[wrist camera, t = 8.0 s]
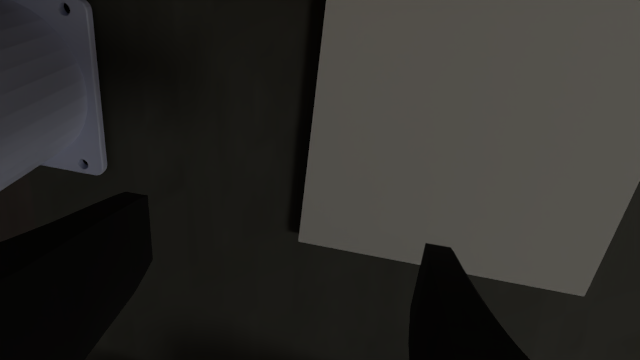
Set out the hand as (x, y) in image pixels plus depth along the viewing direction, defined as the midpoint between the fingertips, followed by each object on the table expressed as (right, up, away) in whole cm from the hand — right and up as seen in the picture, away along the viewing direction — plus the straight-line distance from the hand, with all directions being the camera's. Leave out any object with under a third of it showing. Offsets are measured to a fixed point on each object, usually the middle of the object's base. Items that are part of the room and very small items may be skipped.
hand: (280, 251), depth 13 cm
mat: (+7, +4, +7) cm, 11 cm away
